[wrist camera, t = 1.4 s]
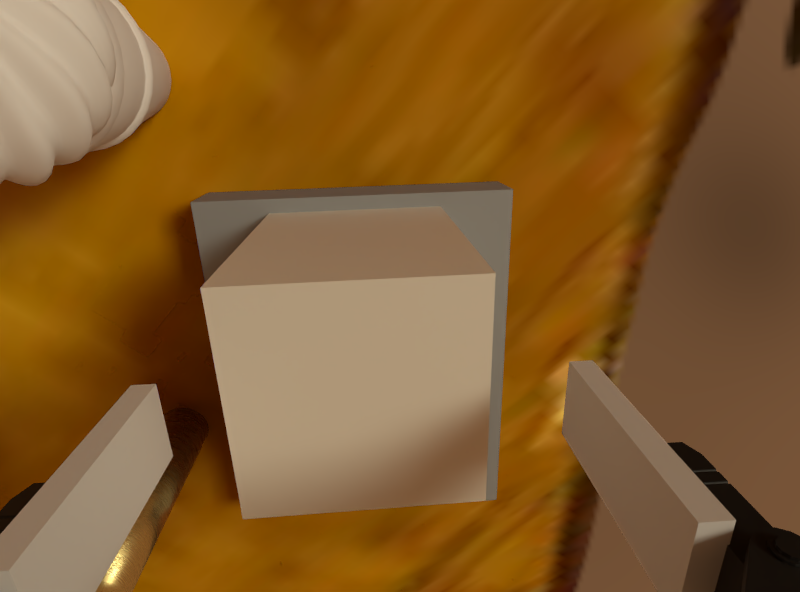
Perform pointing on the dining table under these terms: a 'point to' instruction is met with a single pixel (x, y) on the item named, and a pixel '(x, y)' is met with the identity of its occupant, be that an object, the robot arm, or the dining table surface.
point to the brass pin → (158, 500)
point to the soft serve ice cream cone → (72, 82)
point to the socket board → (463, 202)
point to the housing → (354, 361)
